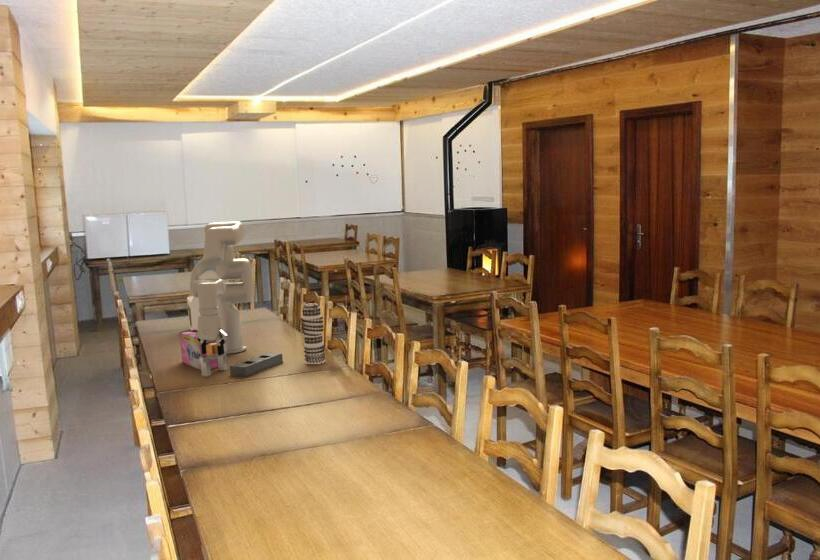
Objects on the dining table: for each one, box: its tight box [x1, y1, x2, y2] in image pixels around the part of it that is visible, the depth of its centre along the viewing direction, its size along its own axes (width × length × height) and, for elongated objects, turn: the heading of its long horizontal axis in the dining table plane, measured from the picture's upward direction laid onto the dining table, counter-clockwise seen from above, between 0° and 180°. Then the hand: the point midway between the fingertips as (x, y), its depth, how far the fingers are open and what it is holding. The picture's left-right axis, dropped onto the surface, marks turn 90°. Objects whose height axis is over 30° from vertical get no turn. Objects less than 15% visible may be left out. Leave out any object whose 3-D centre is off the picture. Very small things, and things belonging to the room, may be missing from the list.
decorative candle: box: [300, 302, 326, 365], centre depth 315 cm, size 9×9×25 cm
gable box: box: [186, 277, 201, 332], centre depth 399 cm, size 22×13×28 cm, turn 21°
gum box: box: [179, 330, 219, 371], centre depth 324 cm, size 24×8×14 cm, turn 39°
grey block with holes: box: [229, 351, 284, 378], centre depth 311 cm, size 8×24×4 cm, turn 152°
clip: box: [199, 343, 228, 377], centre depth 308 cm, size 3×14×12 cm, turn 152°
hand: (213, 353), depth 308 cm, fingers open, 7 cm apart
